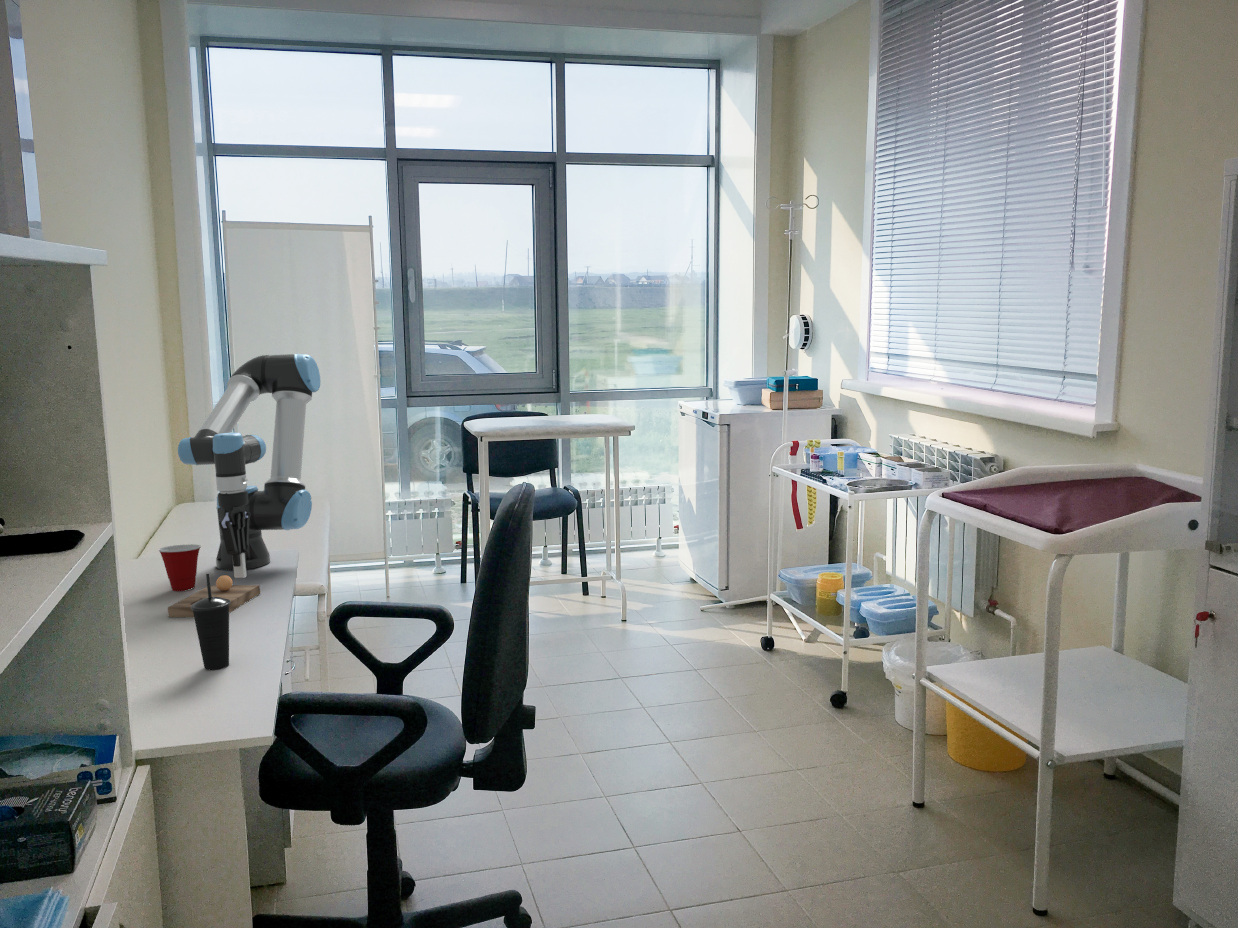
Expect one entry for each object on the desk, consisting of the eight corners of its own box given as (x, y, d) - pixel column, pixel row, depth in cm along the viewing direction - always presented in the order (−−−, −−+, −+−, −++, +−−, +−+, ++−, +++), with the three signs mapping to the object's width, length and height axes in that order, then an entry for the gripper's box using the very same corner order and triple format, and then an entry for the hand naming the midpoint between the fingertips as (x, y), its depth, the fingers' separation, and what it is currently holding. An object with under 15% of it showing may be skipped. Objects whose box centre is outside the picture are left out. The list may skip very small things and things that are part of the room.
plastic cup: (212, 582, 275) (208, 541, 273) (192, 593, 264) (187, 550, 262) (175, 583, 276) (171, 541, 274) (154, 594, 265) (149, 550, 264)
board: (210, 594, 263) (209, 585, 263) (260, 594, 261) (259, 585, 261) (168, 617, 243) (167, 607, 243) (222, 617, 242) (221, 607, 241)
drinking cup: (212, 675, 201) (202, 580, 198) (189, 669, 205) (179, 576, 202) (244, 663, 208) (235, 571, 205) (221, 657, 212) (212, 567, 209)
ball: (221, 588, 259) (220, 573, 259) (236, 588, 259) (234, 573, 258) (213, 592, 255) (212, 577, 255) (228, 592, 255) (226, 577, 254)
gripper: (233, 495, 255) (242, 583, 258) (257, 486, 268) (265, 570, 271) (206, 495, 256) (215, 583, 259) (231, 487, 269) (239, 570, 272)
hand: (240, 576), depth 265 cm, fingers closed
